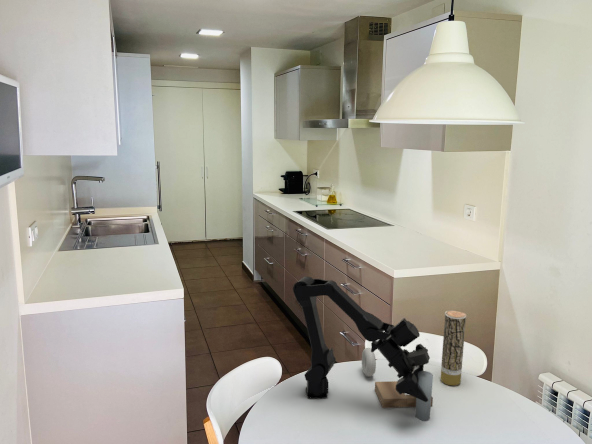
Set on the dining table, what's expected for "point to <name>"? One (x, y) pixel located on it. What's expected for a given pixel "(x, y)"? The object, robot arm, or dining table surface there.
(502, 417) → the dining table surface
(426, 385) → the peg
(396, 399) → the socket block
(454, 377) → the bark textured cylinder
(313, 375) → the robot arm
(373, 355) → the donut
